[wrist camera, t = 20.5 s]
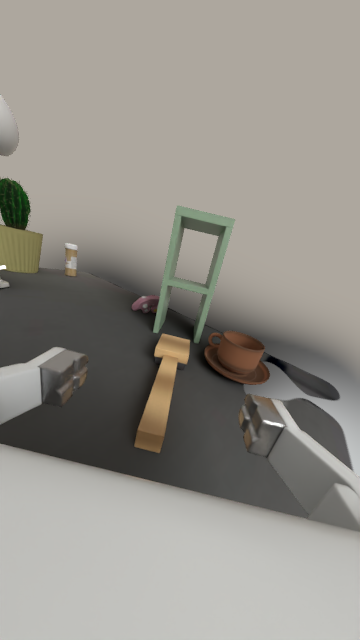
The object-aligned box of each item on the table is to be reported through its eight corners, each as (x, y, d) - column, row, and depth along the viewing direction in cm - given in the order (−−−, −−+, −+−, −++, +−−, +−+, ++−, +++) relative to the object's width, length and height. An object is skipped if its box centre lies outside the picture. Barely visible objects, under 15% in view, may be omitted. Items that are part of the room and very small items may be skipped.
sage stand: (198, 343, 38) (235, 219, 30) (152, 332, 39) (177, 205, 30) (197, 328, 48) (225, 230, 40) (160, 319, 48) (181, 219, 40)
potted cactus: (36, 267, 74) (32, 189, 65) (50, 275, 67) (48, 188, 57) (-16, 263, 62) (-30, 165, 52) (-6, 272, 54) (-20, 160, 45)
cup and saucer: (197, 375, 27) (208, 342, 25) (205, 345, 38) (212, 321, 36) (274, 402, 25) (291, 368, 23) (258, 362, 36) (269, 337, 34)
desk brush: (176, 457, 15) (183, 434, 14) (117, 442, 15) (120, 418, 14) (186, 353, 33) (190, 340, 32) (159, 346, 33) (162, 333, 32)
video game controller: (134, 318, 48) (142, 301, 44) (129, 307, 50) (137, 289, 46) (162, 317, 55) (171, 302, 51) (156, 307, 57) (165, 292, 53)
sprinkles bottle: (62, 274, 75) (62, 242, 70) (73, 274, 79) (73, 244, 74) (68, 276, 73) (68, 243, 69) (78, 276, 77) (79, 246, 73)
